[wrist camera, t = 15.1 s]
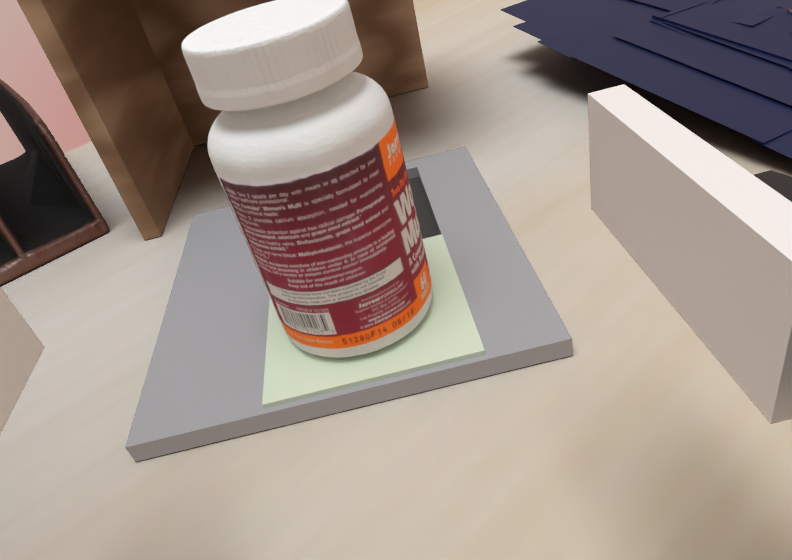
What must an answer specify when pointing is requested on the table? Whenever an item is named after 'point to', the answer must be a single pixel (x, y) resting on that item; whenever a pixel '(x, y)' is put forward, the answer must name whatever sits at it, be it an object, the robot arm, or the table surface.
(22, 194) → the letter holder
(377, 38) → the cubby
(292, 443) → the table surface
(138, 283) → the table surface
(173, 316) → the board
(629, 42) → the navy blue folder
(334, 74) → the pill bottle
